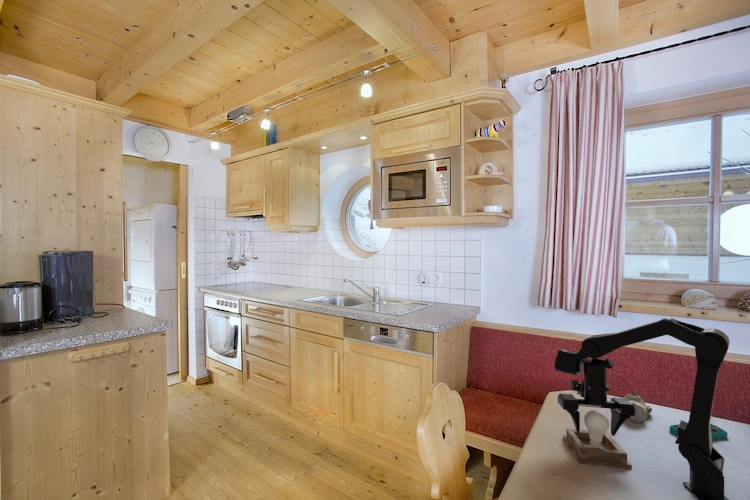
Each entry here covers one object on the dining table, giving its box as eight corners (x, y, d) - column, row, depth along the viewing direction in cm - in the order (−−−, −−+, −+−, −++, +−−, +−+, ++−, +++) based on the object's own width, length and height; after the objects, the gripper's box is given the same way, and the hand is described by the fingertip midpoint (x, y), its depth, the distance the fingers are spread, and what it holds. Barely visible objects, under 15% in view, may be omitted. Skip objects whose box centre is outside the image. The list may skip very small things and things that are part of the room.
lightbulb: (578, 445, 103) (579, 408, 103) (591, 441, 106) (593, 405, 106) (599, 457, 98) (600, 417, 98) (612, 452, 100) (614, 414, 100)
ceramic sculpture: (615, 394, 122) (616, 383, 134) (614, 419, 122) (616, 407, 134) (654, 402, 116) (652, 390, 128) (653, 429, 116) (651, 415, 128)
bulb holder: (631, 468, 94) (631, 455, 94) (578, 463, 97) (579, 450, 97) (608, 442, 107) (609, 431, 107) (562, 438, 110) (562, 427, 110)
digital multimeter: (729, 439, 110) (729, 430, 110) (693, 445, 107) (693, 435, 107) (702, 428, 118) (702, 419, 118) (668, 433, 114) (668, 424, 114)
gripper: (617, 372, 108) (617, 423, 108) (552, 368, 112) (551, 417, 111) (637, 386, 97) (636, 442, 97) (564, 381, 101) (563, 435, 101)
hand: (595, 433), depth 102 cm, fingers open, 9 cm apart
